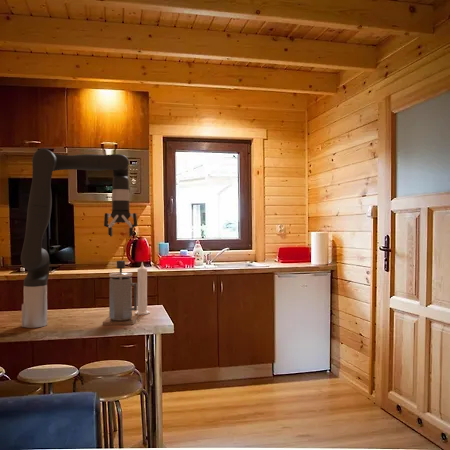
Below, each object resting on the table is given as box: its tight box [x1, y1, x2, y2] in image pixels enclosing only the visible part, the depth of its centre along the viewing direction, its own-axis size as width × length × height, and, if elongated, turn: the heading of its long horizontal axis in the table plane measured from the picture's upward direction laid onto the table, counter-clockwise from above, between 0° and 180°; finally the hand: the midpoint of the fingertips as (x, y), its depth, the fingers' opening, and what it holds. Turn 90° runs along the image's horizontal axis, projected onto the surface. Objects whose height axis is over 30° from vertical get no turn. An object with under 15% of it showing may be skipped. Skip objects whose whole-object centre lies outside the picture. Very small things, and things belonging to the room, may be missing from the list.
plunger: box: [108, 260, 133, 279], centre depth 194 cm, size 10×10×24 cm
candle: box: [134, 261, 151, 316], centre depth 212 cm, size 7×7×25 cm
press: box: [102, 276, 139, 326], centre depth 194 cm, size 14×13×19 cm
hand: (120, 236), depth 194 cm, fingers open, 8 cm apart
